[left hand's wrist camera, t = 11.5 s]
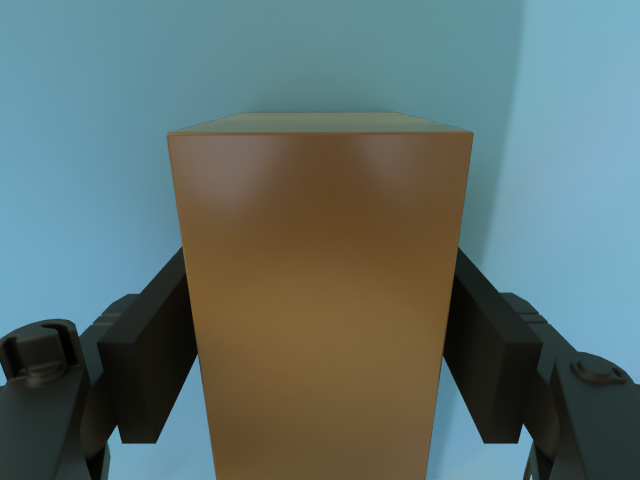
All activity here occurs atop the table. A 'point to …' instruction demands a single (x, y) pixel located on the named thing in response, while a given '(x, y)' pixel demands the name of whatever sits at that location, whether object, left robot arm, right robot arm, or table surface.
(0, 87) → the table surface
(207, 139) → the block
